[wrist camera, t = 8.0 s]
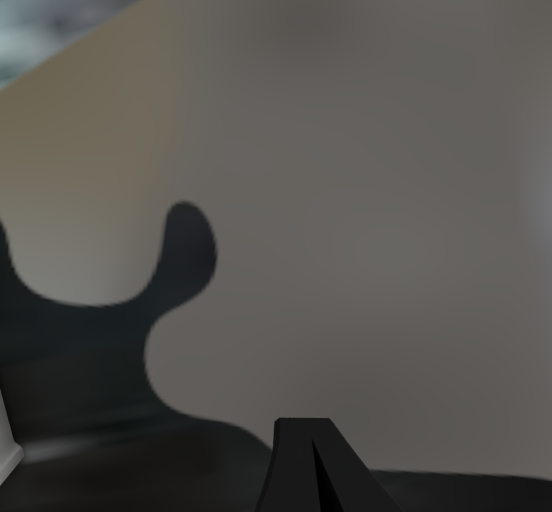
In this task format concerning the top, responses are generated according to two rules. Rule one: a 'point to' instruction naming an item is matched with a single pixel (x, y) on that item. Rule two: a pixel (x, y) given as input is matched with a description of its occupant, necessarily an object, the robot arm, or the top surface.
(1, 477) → the tube
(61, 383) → the top surface
